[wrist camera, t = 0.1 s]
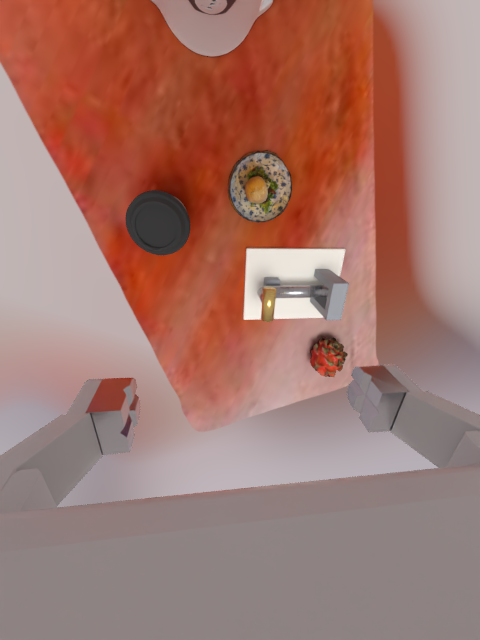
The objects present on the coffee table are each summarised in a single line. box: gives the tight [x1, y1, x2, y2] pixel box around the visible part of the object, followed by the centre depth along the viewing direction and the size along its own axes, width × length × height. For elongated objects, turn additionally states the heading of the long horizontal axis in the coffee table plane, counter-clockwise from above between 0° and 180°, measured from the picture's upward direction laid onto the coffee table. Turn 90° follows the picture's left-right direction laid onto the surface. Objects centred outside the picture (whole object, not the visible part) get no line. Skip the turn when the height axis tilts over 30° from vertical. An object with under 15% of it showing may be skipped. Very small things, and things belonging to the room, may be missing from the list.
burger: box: [228, 151, 292, 222], centre depth 48 cm, size 12×12×8 cm
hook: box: [257, 285, 329, 322], centre depth 55 cm, size 19×6×10 cm, turn 88°
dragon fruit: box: [310, 337, 347, 377], centre depth 67 cm, size 8×8×12 cm
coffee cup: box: [126, 190, 190, 255], centre depth 45 cm, size 9×9×15 cm
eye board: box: [243, 248, 349, 320], centre depth 56 cm, size 21×16×10 cm
